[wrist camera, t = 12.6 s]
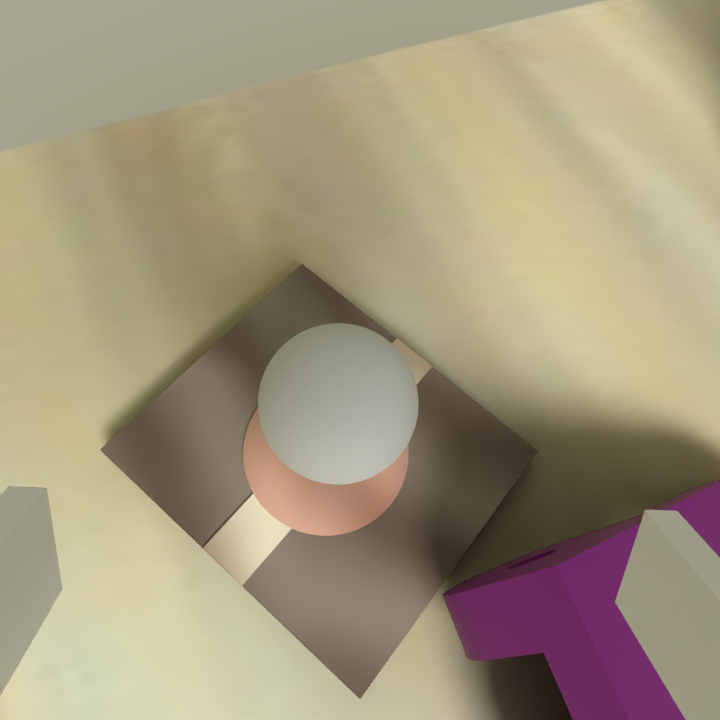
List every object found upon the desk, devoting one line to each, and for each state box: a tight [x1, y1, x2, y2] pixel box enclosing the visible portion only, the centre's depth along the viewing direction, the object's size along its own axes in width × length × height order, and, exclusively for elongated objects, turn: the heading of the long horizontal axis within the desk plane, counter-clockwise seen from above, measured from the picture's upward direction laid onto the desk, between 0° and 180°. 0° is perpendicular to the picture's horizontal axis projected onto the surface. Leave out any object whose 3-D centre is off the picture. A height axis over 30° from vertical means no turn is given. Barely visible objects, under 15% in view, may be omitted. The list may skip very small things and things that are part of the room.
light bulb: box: [258, 323, 419, 485], centre depth 23 cm, size 6×6×10 cm
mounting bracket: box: [443, 480, 720, 720], centre depth 25 cm, size 10×9×19 cm
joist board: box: [100, 264, 537, 698], centre depth 28 cm, size 14×16×1 cm
